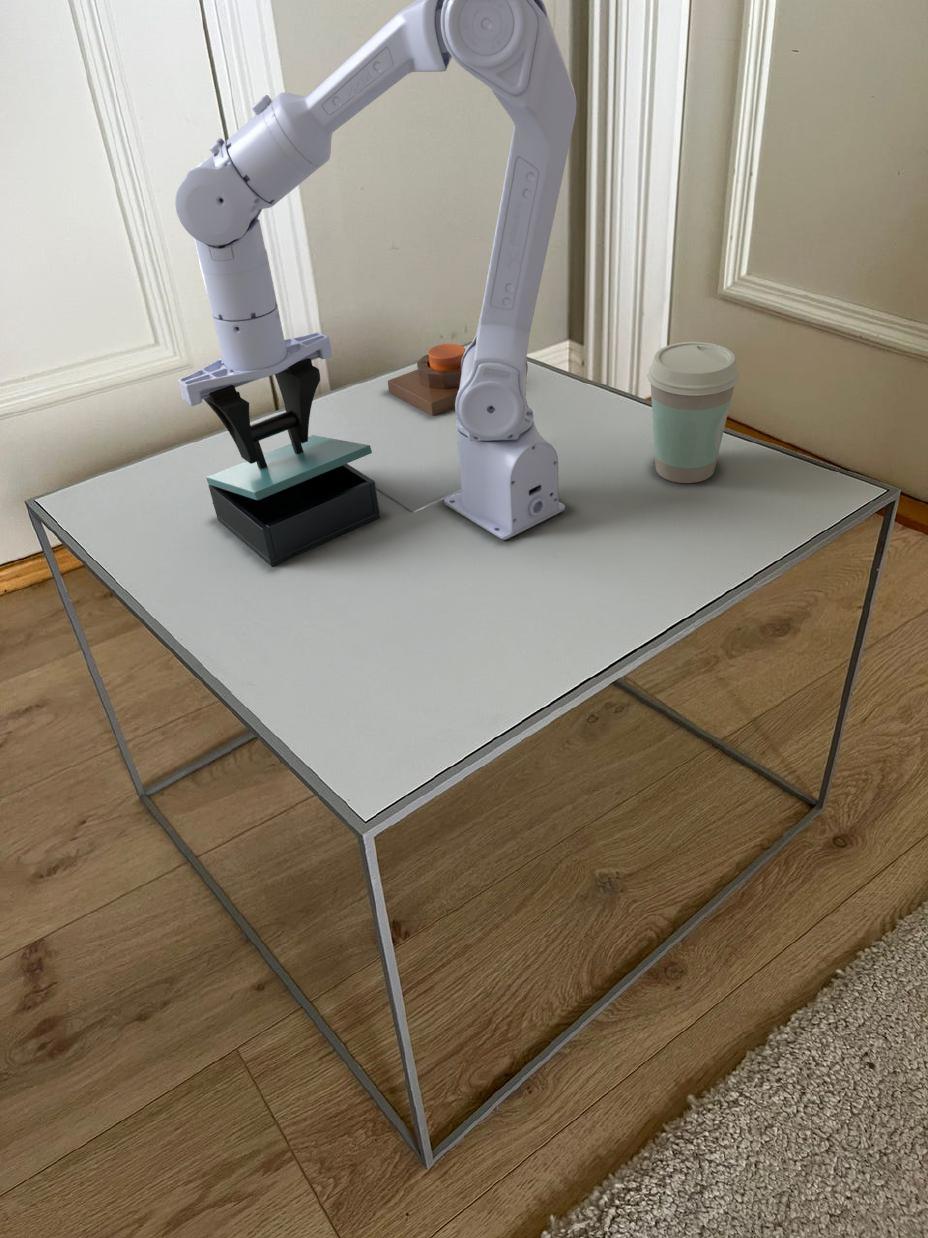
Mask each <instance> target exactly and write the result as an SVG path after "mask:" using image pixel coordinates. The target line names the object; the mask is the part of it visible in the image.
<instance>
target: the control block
mask: <svg viewBox="0 0 928 1238" xmlns="http://www.w3.org/2000/svg"><path fill="white" fill-rule="evenodd" d="M416 368H417V369H415V370H412V371H409V372H406V373H404V374H401V375H399V376H396V377H393V378H391V379H388V380H387V387H388V394H390V395H392V396H393V397H395V398H397V399H399V400H401V401H403V402H405V403H407V404H408V405H411V406H412V407H414V408H416V409H419V410H421V412H424V413H426V414H428V415H429V416H432V417H434V416H437V415H440V414H441V413H444V412H446V411H448V410H452V409H455V402H456V397H457V394H458V391H459V387H460V380H461V368H459V369H456V370H448V371H441V370H434V369H432V368H430V363H429V353H428V354H426V355H425V354H424V355H423V356H422V357H421V358H420V359H419V360H418V361H417V362H416Z"/></svg>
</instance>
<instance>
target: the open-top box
mask: <svg viewBox="0 0 928 1238" xmlns="http://www.w3.org/2000/svg"><path fill="white" fill-rule="evenodd" d="M208 490H209V493H210V497H211V501H212V504H213V507H214V512H215V515H216V518H217V521H218V522H219V523H220V524H221V525H223V526H224V527H225V528H226V529H227V530H228V531H230V532H231V533H232V534H233V535H234V536H235V537H236V538H238V539H239V540H240V541H241V542H242V543H244V544H245V545H246V546H247V547H248V548H249V549H250V550H252V552H254V553H255V554H256V555H258V556H259V557H260V558H261V559H262V560H263V561H264V562H265V563H267V564H268V565H269V566H270V567H274V566H277V565H279V564H281V563H283V562H285V561H288V560H291V559H292V558H294V557H296V556H298V555H301V554H303V553H305V552H307V551H310V550H312V549H315V548H316V547H318V546H321V545H323V544H325V543H328V542H329V541H332V540H334V539H336V538H338V537H341V536H342V535H345V534H347V533H349V532H352V531H354V530H356V529H358V528H360V527H363V526H364V525H367V524H368V523H371V522H373V521H376V520H378V519H380V518H381V514H380V508H379V507H380V506H379V501H378V500H379V499H378V493H377V486H376V481H375V480H373V479H372V478H371V477H369V476H367V475H365V474H364V473H363V472H361V471H360V470H358V469H357V468H355V467H353V465H350V463H347V464H344V465H342V466H340V467H337V468H335V469H332V470H330V471H328V472H325V473H323V474H320V475H318V476H316V477H313V478H311V479H308V480H306V481H303V482H301V483H299V484H296V485H294V486H291V487H289V488H287V489H284V490H282V491H279V492H277V493H275V494H272V495H270V496H267V497H265V498H262V499H260V500H255V499H251V498H248V497H245V496H242V495H239V494H236V493H233V492H230V491H227V490H224V489H221V488H218V487H215V486H212V485H209V484H208Z"/></svg>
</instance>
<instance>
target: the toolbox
mask: <svg viewBox="0 0 928 1238" xmlns="http://www.w3.org/2000/svg"><path fill="white" fill-rule="evenodd" d="M297 424H298V422H297V418H296V416H295V414H294V413H293V412H292V411H287V412H286V411H285V412H282V413H279V414H277V415H274V416H272V417H269V418H266V419H263V420H261V421H258V422H255V423H253V424H252V423H251V424H250V427H251V433H252V437H253V441H254V445H255V448H256V452H257V461H258V462H255V463H253V464H250V463H249V462H247V461H246V460H245V461H244V462H240V463H238V464H236V465H233V466H231V467H227V468H226V469H222V470H221V471H218V472H215V473H213V474H210V475H207V476H206V478H205V479H206V481H207V484H208V486H209V485H212V486H215V487H218V488H221V489H224V490H227V491H230V492H233V493H236V494H239V495H242V496H245V497H248V498H251V499H255V500H260V499H262V498H265V497H267V496H270V495H272V494H275V493H277V492H279V491H282V490H284V489H287V488H289V487H291V486H294V485H296V484H299V483H301V482H303V481H306V480H308V479H311V478H313V477H316V476H318V475H320V474H323V473H325V472H328V471H330V470H332V469H335V468H337V467H340V466H342V465H344V464H350V463H351V462H354V461H356V460H359V459H361V458H364V457H366V456H369V455H371V454H373V450H372V447H371V445H370V444H365V443H359V442H354V441H347V440H343V439H337V438H332V437H325V436H319V435H314V434H313V435H310V436H308V442H305V443H303V444H302V443H301V442H300V439H299V435H298V432H297V429H296V426H297ZM285 431H286V432H287V433H288V437H289V440H290V443H289V444H286V445H284V446H282V447H280V448H277V449H274V450H272V451H269V452H265V453H264V451H263V449H262V446H261V443H260V441H263V440H265V439H268V438H270V437H273V436H276V435H277V434H280V433H283V432H285Z"/></svg>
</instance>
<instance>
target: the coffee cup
mask: <svg viewBox="0 0 928 1238" xmlns="http://www.w3.org/2000/svg"><path fill="white" fill-rule="evenodd" d="M739 372H740V369H739V367H738V365H737V360H736V356H735V354H734V352H733V351H732V350H730V349H728V347H725V346H722V345H719V344H717V343H711V342H706V341H705V342H704V341H682V342H677V343H672V344H668V345H666V346H664V347H662V348H660V349H658V350H657V351H656V352H655V353H654V357H653V360H652V362H651V363H650V365H649V366H648V372H647V375H646V377H647V380H648V382H649V383H650V393H651V394H650V398H651V399H650V400H651V414H652V415H651V416H652V429H653V430H652V431H653V442H654V443H653V445H654V459H655V461H654V462H655V470H656V473H657V474H658V475H659V476H660V477H661V478H663V479H665V480H666V481H669V482H673V483H678V484H694V483H699V482H703V481H705V480H707V479H709V478H710V477H712V476H713V475H714V473H715V469H716V465H717V461H718V457H719V453H720V448H721V444H722V440H723V436H724V432H725V428H726V424H727V418H728V415H729V411H730V406H731V402H732V399H733V394H734V389H735V386H736V385H737V384H738V382H739V380H740V374H739Z"/></svg>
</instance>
